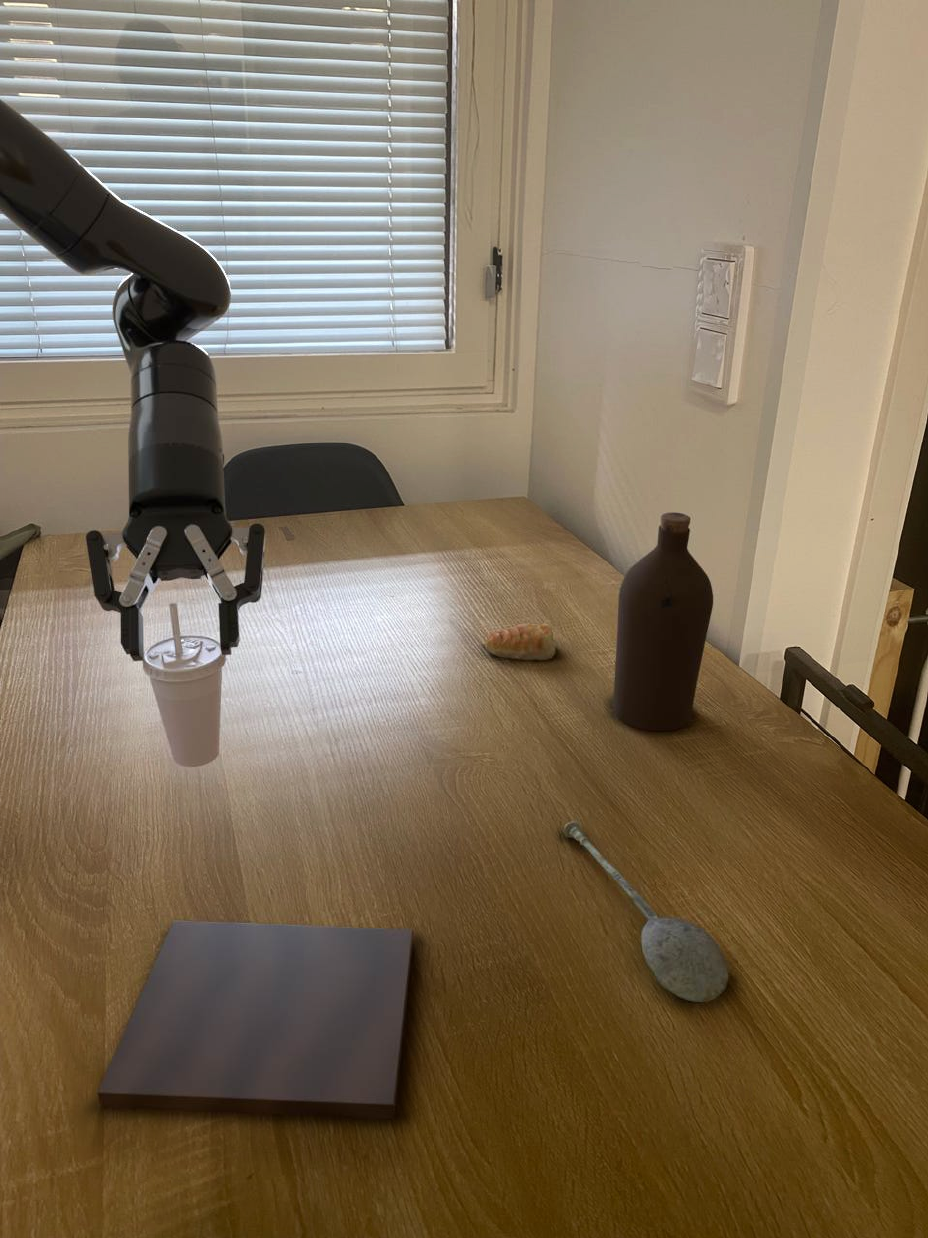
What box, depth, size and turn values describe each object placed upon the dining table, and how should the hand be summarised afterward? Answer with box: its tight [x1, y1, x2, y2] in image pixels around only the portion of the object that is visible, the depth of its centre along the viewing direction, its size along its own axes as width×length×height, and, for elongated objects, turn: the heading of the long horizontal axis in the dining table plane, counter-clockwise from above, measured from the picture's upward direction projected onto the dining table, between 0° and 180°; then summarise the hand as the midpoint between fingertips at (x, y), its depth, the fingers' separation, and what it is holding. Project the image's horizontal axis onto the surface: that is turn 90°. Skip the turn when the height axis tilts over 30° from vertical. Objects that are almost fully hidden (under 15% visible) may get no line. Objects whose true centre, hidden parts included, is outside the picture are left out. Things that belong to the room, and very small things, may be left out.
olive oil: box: [612, 511, 714, 733], centre depth 105 cm, size 11×11×25 cm
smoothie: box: [142, 602, 227, 768], centre depth 73 cm, size 6×6×14 cm
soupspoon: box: [562, 820, 729, 1003], centre depth 79 cm, size 22×3×7 cm
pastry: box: [484, 622, 556, 661], centre depth 124 cm, size 9×7×4 cm
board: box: [97, 920, 414, 1120], centre depth 68 cm, size 20×16×2 cm
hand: (182, 654), depth 70 cm, fingers closed on smoothie, 6 cm apart
